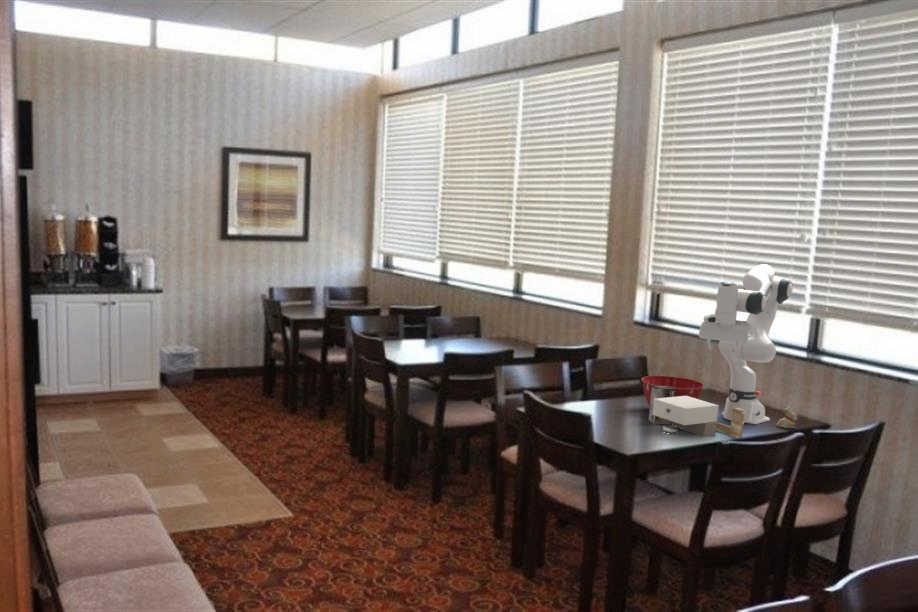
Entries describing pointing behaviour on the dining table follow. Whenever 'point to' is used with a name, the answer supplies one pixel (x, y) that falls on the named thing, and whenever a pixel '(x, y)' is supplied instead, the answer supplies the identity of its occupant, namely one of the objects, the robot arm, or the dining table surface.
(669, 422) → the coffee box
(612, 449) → the dining table surface
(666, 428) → the steel token
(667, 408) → the cabinet
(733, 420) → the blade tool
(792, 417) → the chocolate bunny
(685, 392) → the mixing bowl
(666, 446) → the dining table surface
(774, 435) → the dining table surface
